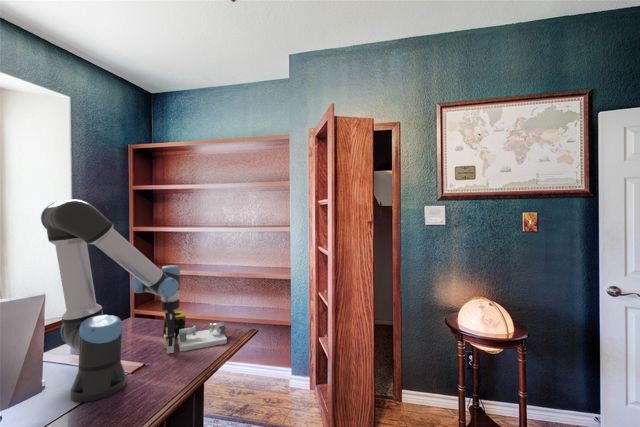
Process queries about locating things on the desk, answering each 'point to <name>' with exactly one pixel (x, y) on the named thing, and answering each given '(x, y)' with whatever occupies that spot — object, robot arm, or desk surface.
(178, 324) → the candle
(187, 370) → the desk surface
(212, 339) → the shaft base
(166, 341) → the coupler
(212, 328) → the shaft out
